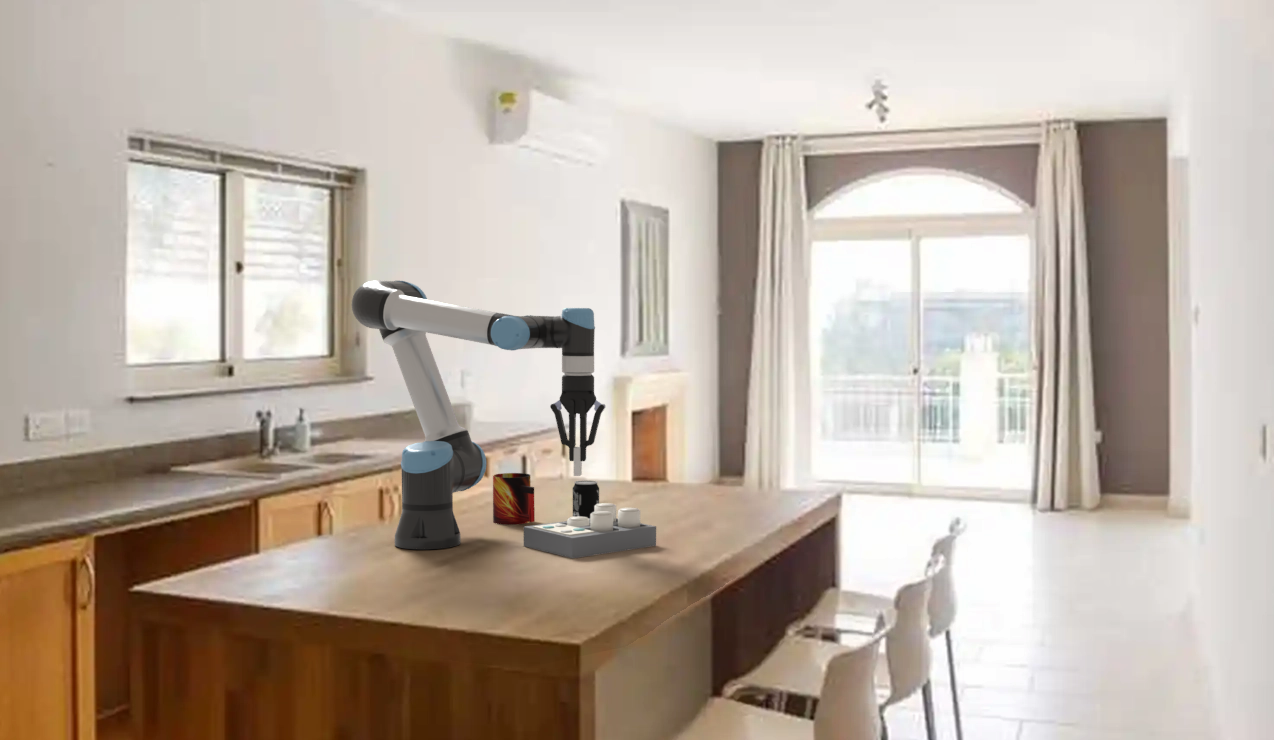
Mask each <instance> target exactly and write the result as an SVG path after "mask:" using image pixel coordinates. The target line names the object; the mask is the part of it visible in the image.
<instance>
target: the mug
mask: <svg viewBox="0 0 1274 740" xmlns="http://www.w3.org/2000/svg"><path fill="white" fill-rule="evenodd" d="M535 511H536V510H535V487H533V486H531V474H529V473H524V472H506V473H495V474H493V475H492V522H493V524H496V523H497V525H503V526H504V525H505V526H507V525H508V526H509V525H513V526H515V525H527V524H529V523H535V520H536V519H535Z"/></svg>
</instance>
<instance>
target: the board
mask: <svg viewBox="0 0 1274 740" xmlns="http://www.w3.org/2000/svg"><path fill="white" fill-rule="evenodd" d="M656 546H657V526H656V525H651V524H647V523H641V522H640V527H635V528H628V529H627V528H622V527H618V517H616V522H613V531H606V532H595V531H591V530H590V518H589V525H588V526H581V527H573V526H569V525H567V520H566V521H564V520H563V521H557V522H551V523H549V522H548V523H540V524H534V525H526V526H523V547H525V548H530V549H533V550H538V551H540V552H541V551H542V552H544V553H546V552H547V553H550V554H553V555H558V556H561V557H565V558H569V559H578V558H585V557H590V556H591V557H592V556H598V555H605V554H611V553H616V552H623V551H629V550H637V549H645V548H649V547H656Z"/></svg>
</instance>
